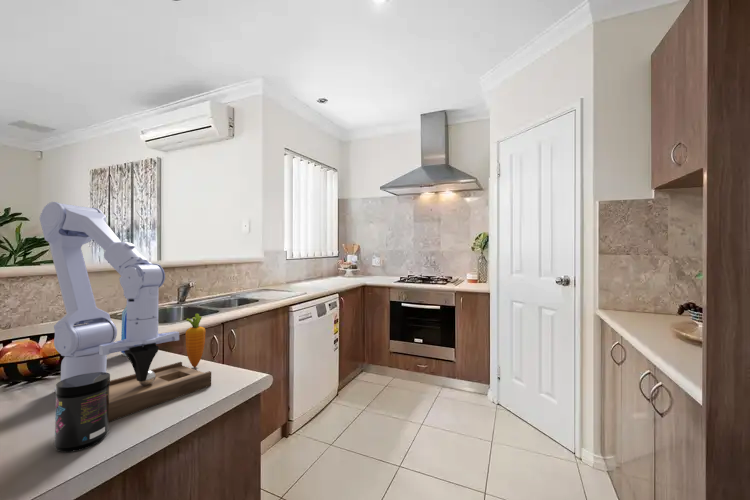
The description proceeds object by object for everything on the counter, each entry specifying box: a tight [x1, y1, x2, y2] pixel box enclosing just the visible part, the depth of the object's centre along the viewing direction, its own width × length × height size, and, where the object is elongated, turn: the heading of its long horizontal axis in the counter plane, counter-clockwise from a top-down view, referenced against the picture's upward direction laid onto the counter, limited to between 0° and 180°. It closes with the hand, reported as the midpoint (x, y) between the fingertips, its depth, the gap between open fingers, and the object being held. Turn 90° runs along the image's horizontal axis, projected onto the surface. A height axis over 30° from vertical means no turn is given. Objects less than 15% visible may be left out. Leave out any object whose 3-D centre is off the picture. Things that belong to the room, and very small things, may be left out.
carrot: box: [185, 313, 207, 368], centre depth 89 cm, size 5×5×15 cm
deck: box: [108, 361, 212, 423], centre depth 71 cm, size 14×21×3 cm, turn 149°
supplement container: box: [53, 371, 111, 453], centre depth 53 cm, size 7×7×10 cm
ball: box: [138, 369, 156, 386], centre depth 70 cm, size 3×3×3 cm
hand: (142, 380), depth 69 cm, fingers closed, pressing on ball
